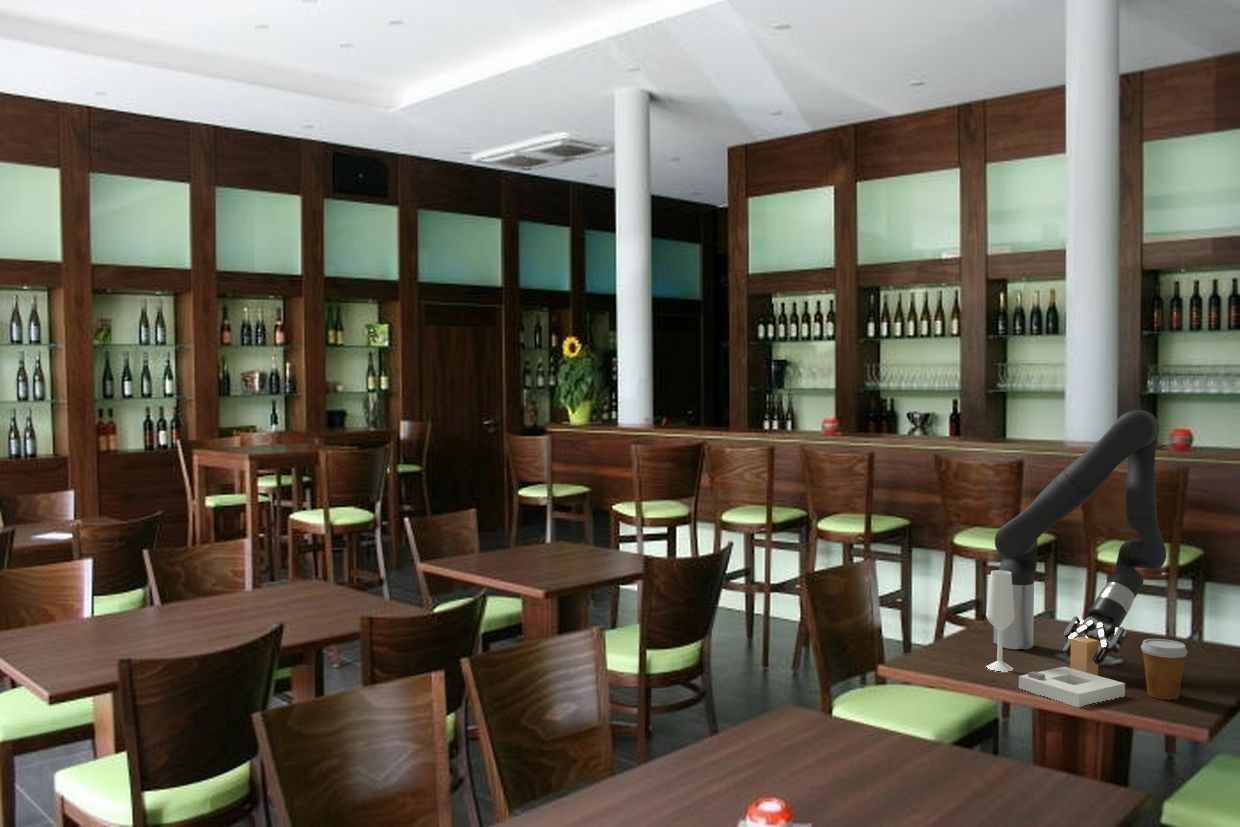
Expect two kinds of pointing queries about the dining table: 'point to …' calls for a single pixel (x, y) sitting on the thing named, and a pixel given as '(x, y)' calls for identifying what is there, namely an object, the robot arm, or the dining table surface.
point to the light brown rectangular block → (1084, 654)
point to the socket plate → (1071, 686)
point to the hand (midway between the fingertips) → (1080, 658)
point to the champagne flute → (1000, 611)
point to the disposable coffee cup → (1163, 667)
